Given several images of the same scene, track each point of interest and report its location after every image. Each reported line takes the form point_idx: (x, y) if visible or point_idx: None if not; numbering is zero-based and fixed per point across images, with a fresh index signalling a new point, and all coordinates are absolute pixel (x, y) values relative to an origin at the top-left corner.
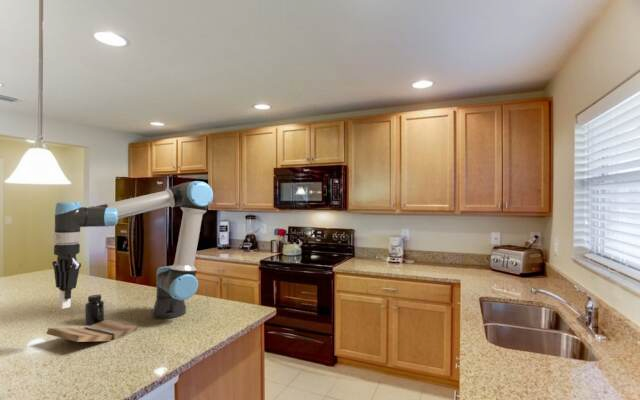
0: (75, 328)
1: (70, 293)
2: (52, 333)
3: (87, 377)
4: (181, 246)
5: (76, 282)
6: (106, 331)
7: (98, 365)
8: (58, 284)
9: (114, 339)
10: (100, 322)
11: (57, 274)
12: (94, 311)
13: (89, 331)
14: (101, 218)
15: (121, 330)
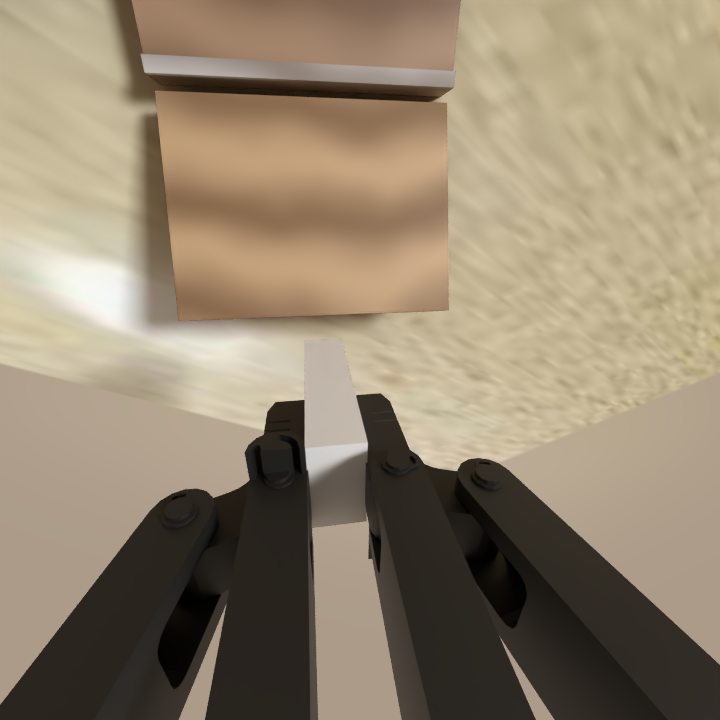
0: (167, 151)
1: (401, 435)
2: (239, 318)
3: (585, 364)
4: None
5: (579, 541)
6: (377, 80)
7: (565, 309)
8: (217, 608)
9: (440, 95)
10: None
11: None
12: None
13: (299, 144)
14: None
15: (439, 4)
